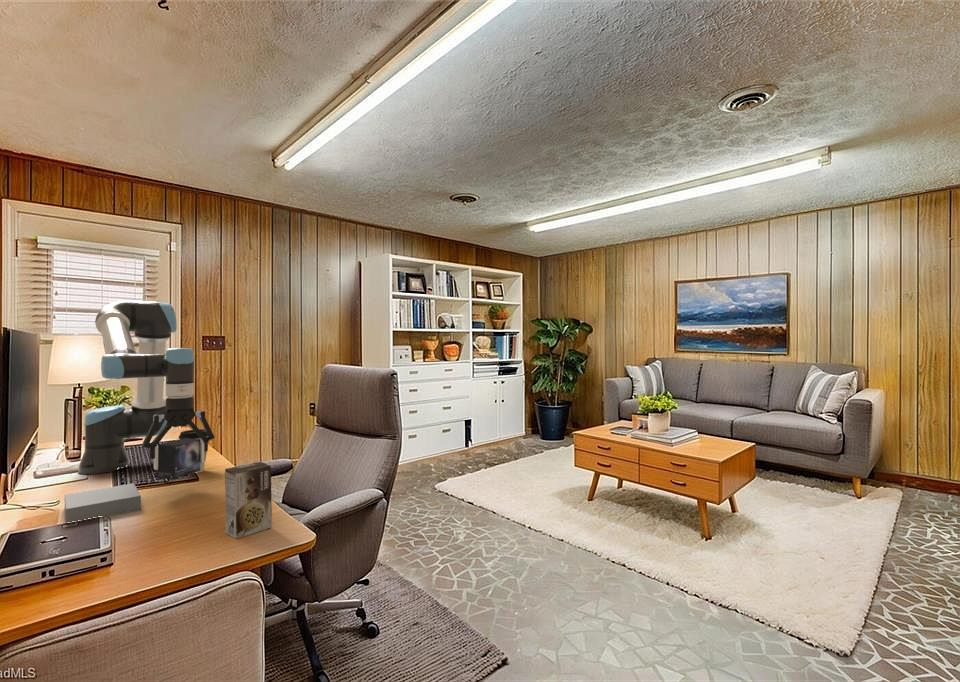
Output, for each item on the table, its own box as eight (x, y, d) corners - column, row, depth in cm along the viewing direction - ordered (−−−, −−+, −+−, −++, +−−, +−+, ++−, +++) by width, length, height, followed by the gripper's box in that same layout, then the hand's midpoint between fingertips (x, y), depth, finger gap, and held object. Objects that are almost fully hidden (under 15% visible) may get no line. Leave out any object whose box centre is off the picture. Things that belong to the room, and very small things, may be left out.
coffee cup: (184, 477, 165) (184, 434, 166) (173, 472, 171) (173, 431, 172) (214, 471, 173) (214, 430, 173) (202, 467, 179) (202, 428, 179)
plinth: (64, 508, 134) (64, 494, 134) (133, 496, 145) (133, 483, 145) (65, 524, 122) (66, 509, 122) (140, 509, 133) (140, 495, 133)
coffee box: (260, 522, 124) (260, 461, 124) (272, 528, 119) (272, 464, 120) (224, 532, 116) (224, 468, 117) (235, 539, 112) (235, 472, 112)
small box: (174, 480, 142) (174, 445, 142) (156, 478, 143) (156, 444, 143) (201, 470, 152) (201, 438, 152) (184, 469, 153) (184, 437, 153)
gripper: (134, 401, 136) (134, 475, 136) (225, 395, 153) (224, 461, 153) (131, 398, 142) (130, 469, 142) (219, 393, 158) (218, 457, 158)
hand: (179, 465), depth 147 cm, fingers closed on small box, 12 cm apart
